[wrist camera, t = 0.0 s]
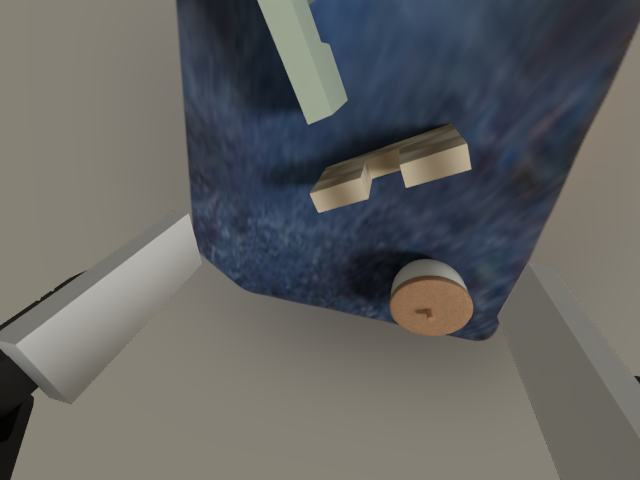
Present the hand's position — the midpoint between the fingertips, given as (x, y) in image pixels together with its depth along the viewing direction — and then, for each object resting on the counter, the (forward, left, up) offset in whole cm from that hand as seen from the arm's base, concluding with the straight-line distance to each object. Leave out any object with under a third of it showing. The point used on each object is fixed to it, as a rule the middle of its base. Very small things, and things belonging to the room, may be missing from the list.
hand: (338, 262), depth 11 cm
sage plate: (-9, -8, -28) cm, 31 cm away
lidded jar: (+22, +11, -28) cm, 37 cm away
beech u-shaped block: (+4, +2, -28) cm, 28 cm away
